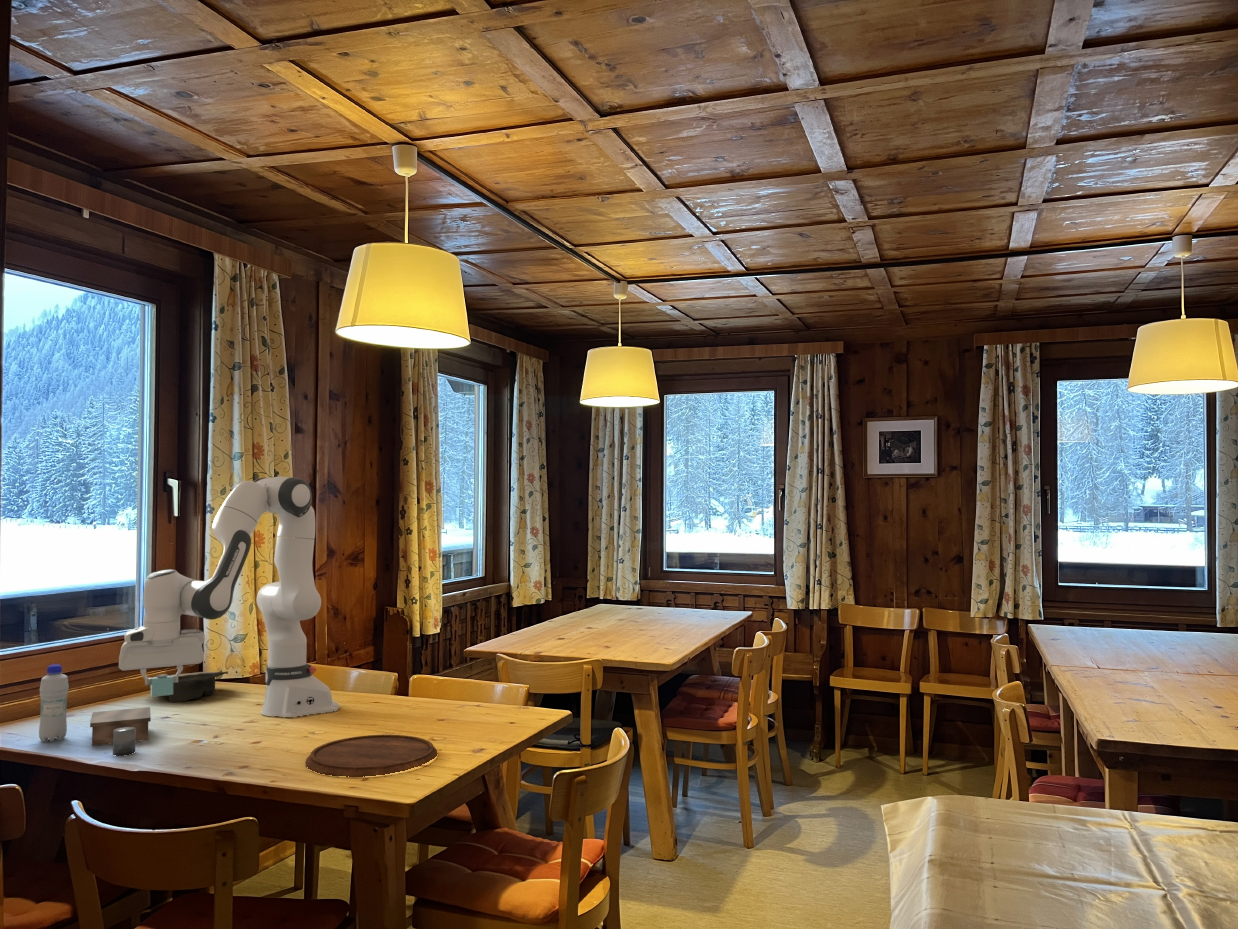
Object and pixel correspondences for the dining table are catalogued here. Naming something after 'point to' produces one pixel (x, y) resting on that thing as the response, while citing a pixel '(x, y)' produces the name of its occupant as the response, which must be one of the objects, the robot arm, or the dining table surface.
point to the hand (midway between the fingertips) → (161, 683)
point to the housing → (161, 685)
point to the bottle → (53, 704)
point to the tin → (124, 741)
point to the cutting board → (370, 755)
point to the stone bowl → (194, 685)
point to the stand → (119, 724)
